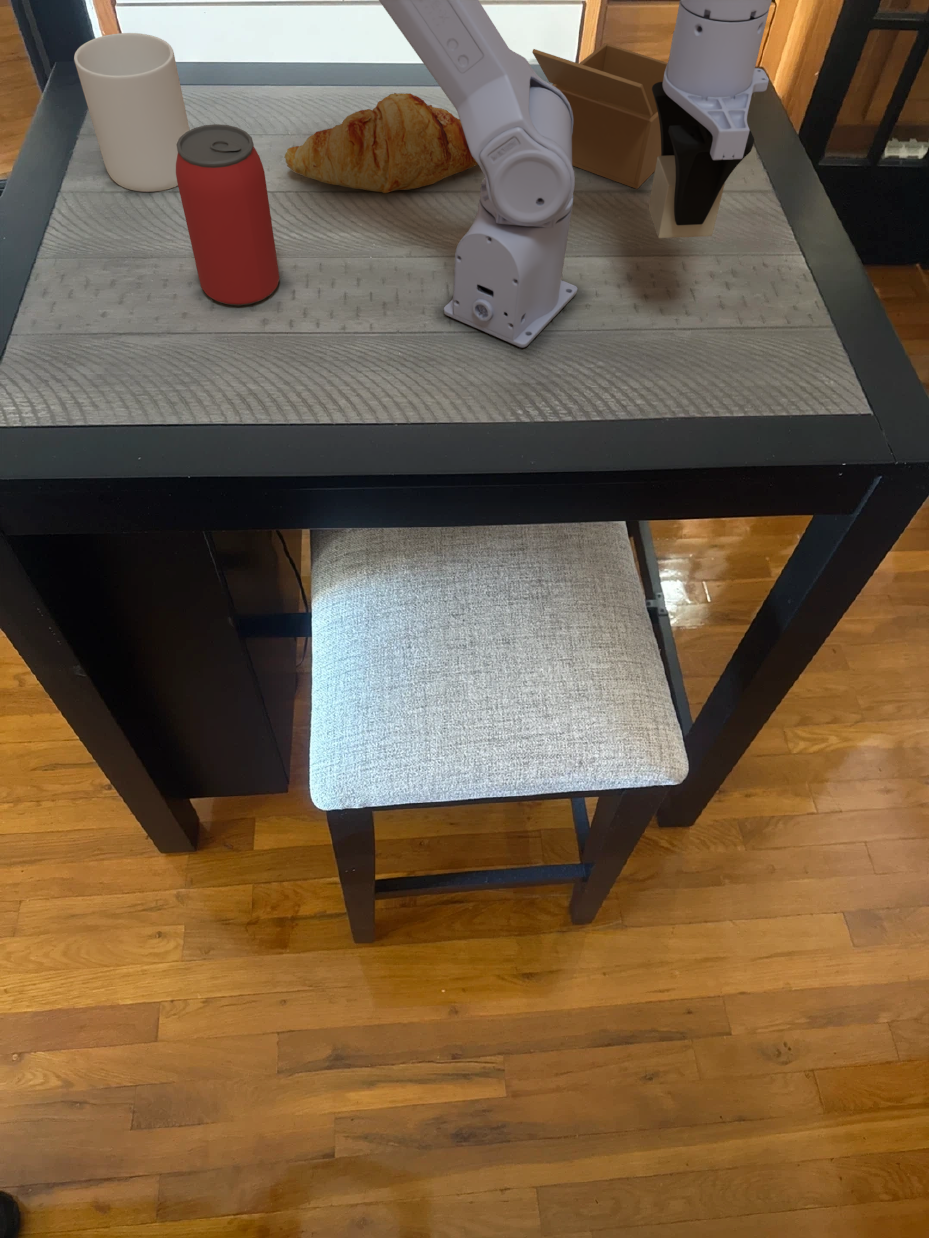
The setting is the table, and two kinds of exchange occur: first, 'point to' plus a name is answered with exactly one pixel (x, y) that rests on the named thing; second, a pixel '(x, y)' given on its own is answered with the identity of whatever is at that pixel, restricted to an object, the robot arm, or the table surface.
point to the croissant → (386, 147)
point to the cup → (134, 107)
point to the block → (664, 204)
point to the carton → (617, 121)
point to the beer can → (227, 213)
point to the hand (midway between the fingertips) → (682, 205)
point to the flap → (594, 82)
